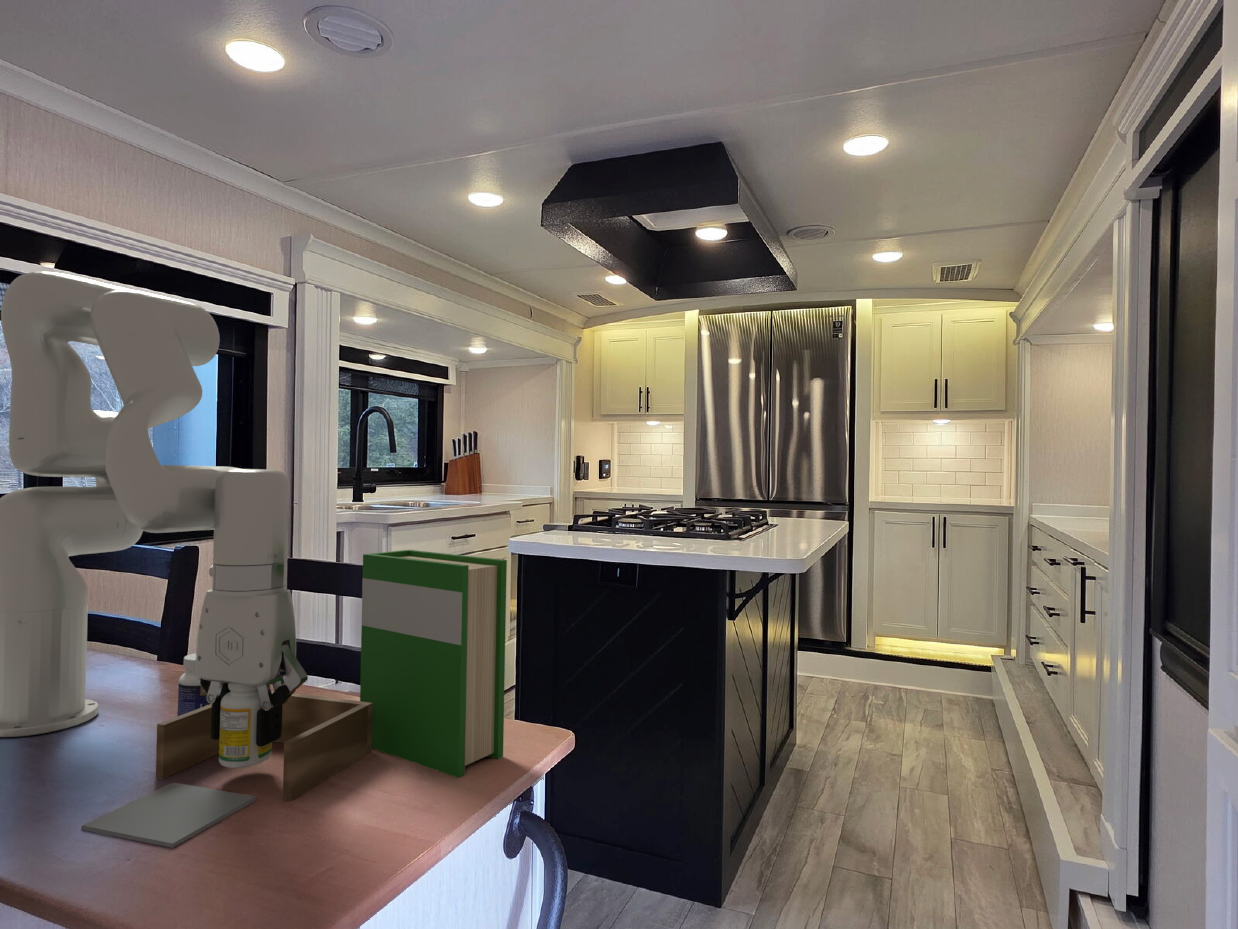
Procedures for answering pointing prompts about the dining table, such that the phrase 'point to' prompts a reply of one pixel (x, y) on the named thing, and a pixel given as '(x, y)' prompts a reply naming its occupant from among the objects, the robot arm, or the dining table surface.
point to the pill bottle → (190, 689)
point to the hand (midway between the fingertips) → (246, 737)
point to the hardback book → (434, 656)
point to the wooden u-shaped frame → (280, 740)
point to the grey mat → (169, 814)
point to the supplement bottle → (240, 728)
